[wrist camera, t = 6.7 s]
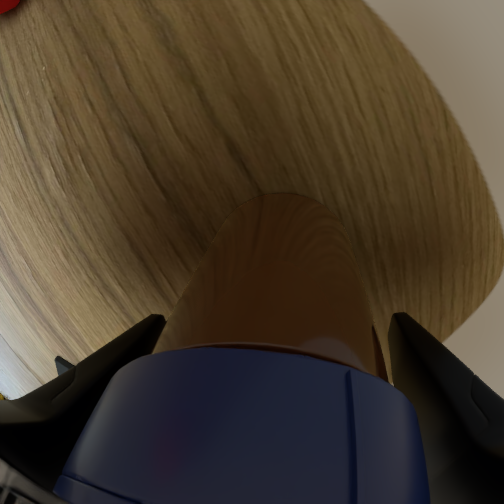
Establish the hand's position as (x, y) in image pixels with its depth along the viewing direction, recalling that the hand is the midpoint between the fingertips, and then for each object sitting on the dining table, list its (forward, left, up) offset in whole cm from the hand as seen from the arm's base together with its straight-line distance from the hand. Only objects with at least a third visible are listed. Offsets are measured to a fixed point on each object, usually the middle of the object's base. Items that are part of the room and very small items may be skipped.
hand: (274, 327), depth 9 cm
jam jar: (0, 0, -4) cm, 4 cm away
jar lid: (0, 0, +6) cm, 6 cm away
